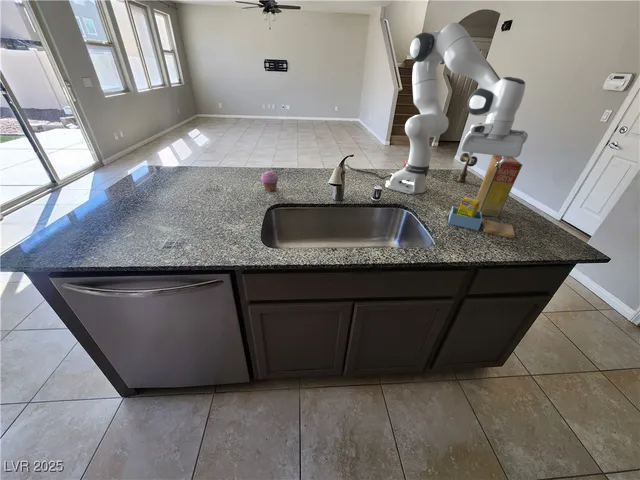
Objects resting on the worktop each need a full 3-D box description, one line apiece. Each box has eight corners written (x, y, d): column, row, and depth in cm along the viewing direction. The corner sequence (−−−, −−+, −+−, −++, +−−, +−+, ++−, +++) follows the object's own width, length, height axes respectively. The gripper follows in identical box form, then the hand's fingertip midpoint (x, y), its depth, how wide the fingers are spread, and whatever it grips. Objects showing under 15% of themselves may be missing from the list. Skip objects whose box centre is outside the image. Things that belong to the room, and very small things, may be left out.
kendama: (460, 184, 162) (471, 150, 151) (452, 178, 170) (462, 146, 159) (469, 184, 162) (481, 150, 151) (461, 178, 170) (472, 146, 159)
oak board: (483, 231, 112) (484, 228, 112) (482, 222, 120) (483, 219, 119) (513, 238, 109) (515, 235, 108) (510, 228, 116) (512, 225, 115)
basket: (448, 223, 118) (451, 213, 115) (449, 215, 124) (452, 205, 122) (478, 230, 113) (482, 220, 111) (477, 221, 120) (481, 211, 118)
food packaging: (499, 217, 124) (523, 164, 111) (477, 214, 126) (498, 161, 113) (493, 206, 135) (514, 156, 122) (472, 203, 137) (491, 154, 124)
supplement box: (453, 222, 119) (461, 199, 113) (458, 218, 122) (466, 196, 117) (467, 227, 115) (476, 204, 109) (472, 222, 119) (480, 200, 113)
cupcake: (273, 194, 138) (272, 175, 133) (259, 191, 141) (257, 173, 136) (281, 188, 146) (280, 170, 140) (267, 186, 148) (266, 168, 143)
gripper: (528, 129, 98) (513, 167, 105) (467, 124, 105) (456, 160, 112) (531, 132, 93) (515, 171, 100) (467, 126, 100) (456, 163, 107)
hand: (483, 165), depth 106 cm, fingers open, 8 cm apart
